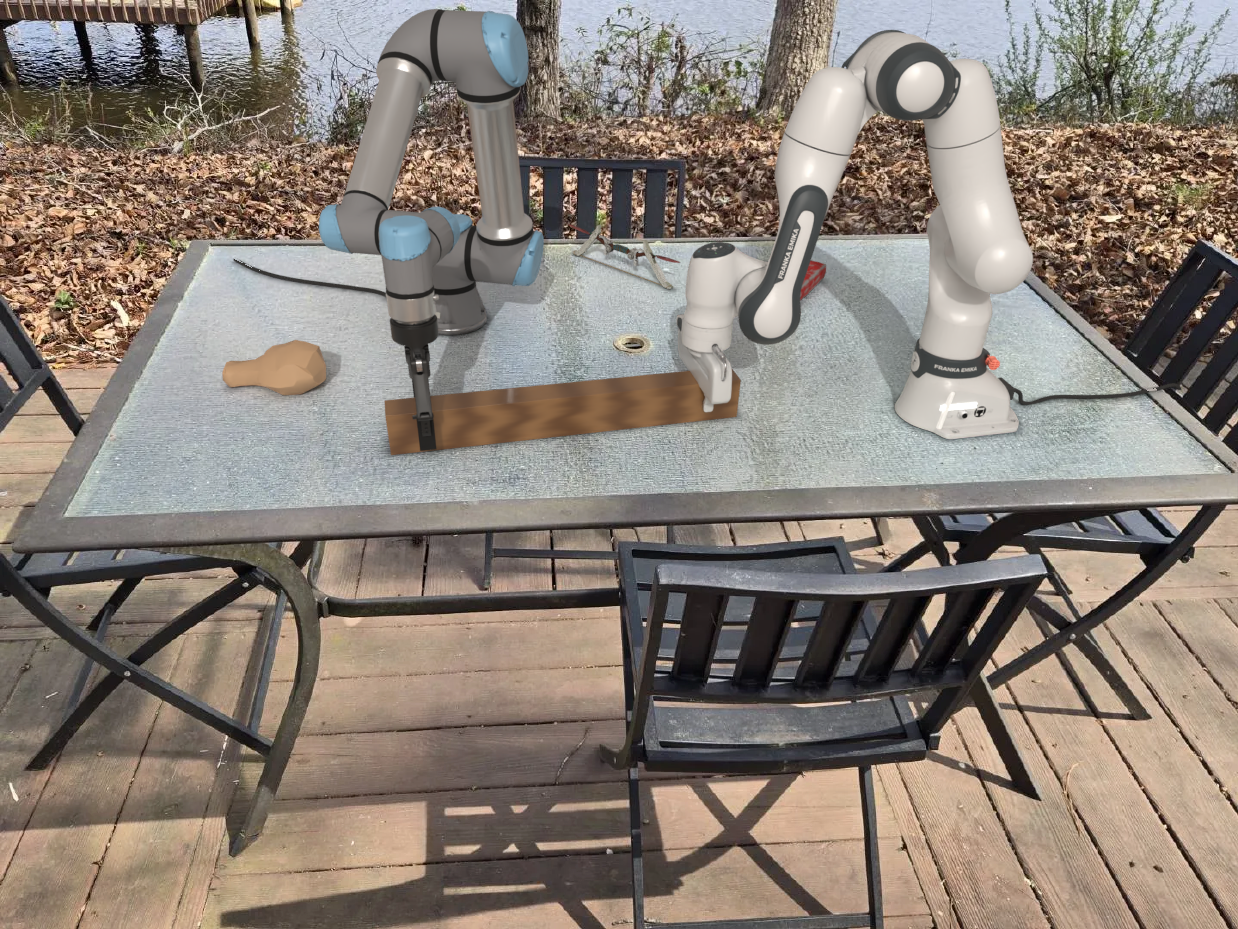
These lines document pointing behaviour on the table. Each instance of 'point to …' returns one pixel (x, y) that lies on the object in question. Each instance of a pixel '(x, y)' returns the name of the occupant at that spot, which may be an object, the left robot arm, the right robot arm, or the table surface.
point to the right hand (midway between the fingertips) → (701, 401)
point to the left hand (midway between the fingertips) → (425, 428)
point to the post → (555, 410)
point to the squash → (280, 369)
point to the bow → (631, 253)
